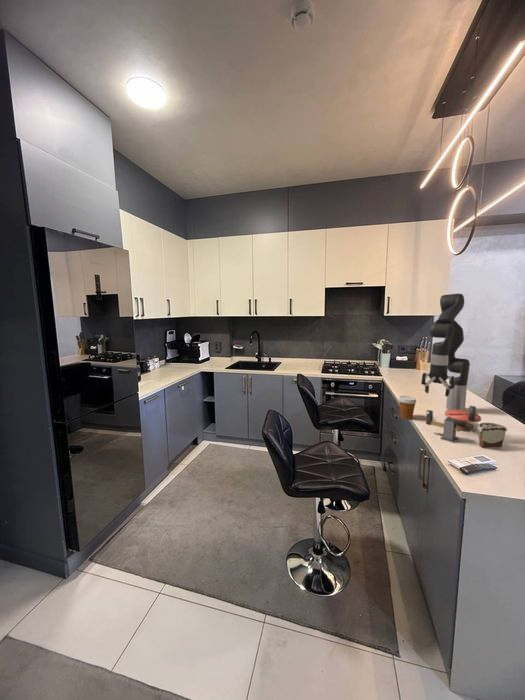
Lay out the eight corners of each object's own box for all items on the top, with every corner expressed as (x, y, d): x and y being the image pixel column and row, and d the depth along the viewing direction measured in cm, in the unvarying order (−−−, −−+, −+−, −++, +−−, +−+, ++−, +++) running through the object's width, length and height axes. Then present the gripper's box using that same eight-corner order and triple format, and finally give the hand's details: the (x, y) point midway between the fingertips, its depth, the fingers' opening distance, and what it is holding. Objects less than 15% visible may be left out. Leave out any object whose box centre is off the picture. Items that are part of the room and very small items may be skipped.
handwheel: (438, 418, 164) (439, 397, 163) (467, 418, 164) (468, 397, 162) (456, 430, 148) (458, 407, 146) (488, 430, 148) (490, 407, 146)
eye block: (440, 438, 143) (441, 419, 142) (444, 434, 147) (445, 416, 146) (454, 442, 139) (455, 423, 137) (458, 438, 143) (459, 419, 142)
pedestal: (464, 422, 162) (464, 420, 162) (479, 430, 151) (479, 428, 151) (445, 423, 162) (445, 420, 162) (459, 431, 151) (459, 428, 151)
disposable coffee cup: (394, 415, 174) (394, 396, 173) (406, 413, 178) (407, 394, 176) (406, 421, 166) (407, 401, 164) (419, 418, 169) (420, 399, 167)
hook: (425, 423, 149) (425, 411, 148) (426, 422, 151) (427, 409, 150) (458, 432, 138) (459, 418, 137) (460, 430, 140) (461, 417, 139)
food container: (494, 441, 140) (496, 421, 138) (505, 447, 134) (507, 426, 132) (469, 442, 139) (471, 422, 138) (479, 448, 133) (481, 427, 132)
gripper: (421, 362, 146) (419, 393, 149) (454, 366, 137) (451, 399, 139) (425, 360, 152) (423, 390, 154) (457, 364, 142) (454, 395, 145)
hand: (436, 394), depth 147 cm, fingers open, 8 cm apart
